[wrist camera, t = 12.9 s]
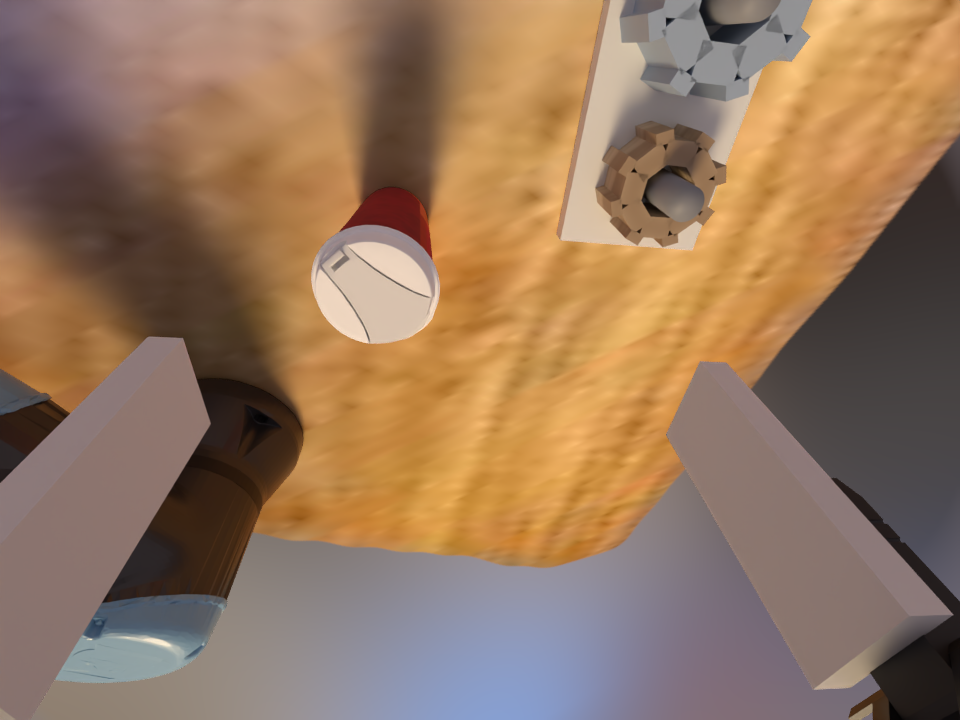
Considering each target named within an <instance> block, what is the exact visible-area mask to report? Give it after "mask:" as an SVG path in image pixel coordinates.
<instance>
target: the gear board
mask: <svg viewBox="0 0 960 720" xmlns="http://www.w3.org/2000/svg"><path fill="white" fill-rule="evenodd" d="M635 1H636V0H604V3H603V8H602V13H601V18H600V23H599V28H598V33H597V38H596V43H595V48H594V53H593V58H592V62H591V67H590V72H589V77H588V82H587V87H586V92H585V97H584V102H583V107H582V112H581V117H580V121H579V126H578V131H577V136H576V141H575V146H574V151H573V156H572V161H571V166H570V171H569V176H568V180H567V185H566V190H565V195H564V200H563V205H562V210H561V215H560V220H559V225H558V230H557V236H558V237H559V239H560V240H564V241H577V242H590V243H603V244H616V245H629V246H642V247H655V248H668V249H681V250H693V247H694V245H695V242H696V239H697V237H698V234H699V232H700V229H701V226H702V225H701V224H700V223H698V222H697V221H696V222H695V223H693V224H692V225H690V226H689V227H687V228H686V229H684V230H683V231H682V232H680V233H679V234H678V243H676V244H672V245H669V246H666V247H662V246H661V245H660V244H659V243H658V242H656V241H655V240H654V239H653V238H646V237H643V239H642V240H641V241H640V243H639V244H638V245H636V244H634V243H632V242H631V241H629V240H627V239H626V238H625V237H624V236H623V235H622V234H621V233H620V232H619V231H618V230H617V229H616V228H615V227H614V226H613V225H612V224H611V223H610V220H611V219H612V217H611V216H610V215H609V214H608V213H607V212H606V211H605V210H604V209H603V208H602V207H601V206H600V205H599V204H598V203H597V198H596V191H595V188H597V187H600V186H603V185H604V183H605V179H606V175H607V171H608V167H609V165H608V164H606V163H605V162H603V161H602V159H603V157H604V156H605V154H606V153H607V151H608V150H609V148H610V146H611V145H612V146H613V147H615V148H617V149H618V150H619V149H621V148H622V147H623V146H624V145H626V144H627V143H628V142H629V141H631V140H632V139H633V138H634V137H636V129H635V126H636V125H639V124H642V123H645V122H648V121H654V122H657V123H659V124H662V125H665V126H668V127H671V128H673V129H674V128H675V126H676V125H677V124H681V125H684V126H687V127H690V128H693V129H696V130H699V131H702V132H704V133H705V134H706V135H708V136H709V137H711V138H712V139H713V140H715V142H714V144H713V145H712V146H711V148H710V149H709V150H708V152H709V155H710V157H711V159H712V160H714V161H717V162H719V163H721V164H724V165H726V162H727V159H728V157H729V154H730V152H731V149H732V146H733V144H734V141H735V139H736V136H737V134H738V131H739V128H740V126H741V123H742V121H743V118H744V115H745V113H746V110H747V108H748V105H749V103H750V100H751V97H752V95H753V92H754V90H755V87H756V85H757V82H758V79H759V77H760V74H761V72H762V69H763V68H762V69H761V70H759V71H758V72H757V73H756V74H754V75H753V76H752V77H750V78H749V94H748V95H745V96H742V97H739V98H735V99H732V100H729V101H726V102H725V101H720V100H715V99H710V98H705V97H700V96H695V95H690V91H689V93H688V94H687V96H686V97H684V96H680V95H675V94H670V93H665V92H660V91H656V90H654V89H652V88H651V87H650V86H648V85H647V84H645V83H644V82H643V81H641V80H640V78H641V77H642V75H643V74H644V72H645V70H646V69H647V67H648V65H647V63H646V61H645V59H644V57H643V55H642V53H641V51H640V49H639V46H638V44H637V43H622V42H621V31H620V19H619V18H621V17H623V16H626V15H629V14H632V13H633V10H634V5H635ZM780 2H781V0H702V1H701V4H700V8H699V13H700V15H701V18H702V20H703V23H704V25H705V28H706V30H707V33H708V35H709V37H710V36H711V35H712V34H714V33H715V32H716V31H717V30H718V29H720V28H721V27H722V26H723V25H727V24H740V23H754V22H760V21H762V20H764V19H766V18H767V17H769V16H770V15H771V14H772V13H773V12H774V11H775V10H776V8H777V7H778V5H779V4H780ZM671 172H672V171H671V169H670V167H669V165H666V166H665V167H663V168H662V169H661V170H660V171H658V172H657V173H656V174H654V175H653V176H652V177H650V178H649V179H648V180H647V183H646V187H645V190H644V193H643V197H642V200H641V201H642V202H646V203H649V202H650V203H652V204H653V205H654V206H656V207H657V208H658V209H660V210H661V211H662V212H664V213H665V214H666V215H668V216H669V217H670V218H672V219H673V220H675V221H677V222H687V221H689V220H691V219H693V218H694V217H696V216H697V215H698V214H699V212H700V211H701V209H702V208H703V205H704V200H705V198H704V193H703V191H702V190H701V189H700V188H698V187H697V186H695V185H693V184H691V183H689V182H688V181H686V180H684V179H682V178H680V177H679V176H677V175H675V174H673V173H671ZM716 188H717V186H716V187H715V189H714V192H713V194H712V197H711V200H710V202H709V205H708V207H709V206H710V203H711V201H712V198H713V195H714V193H715V190H716Z"/></svg>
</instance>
